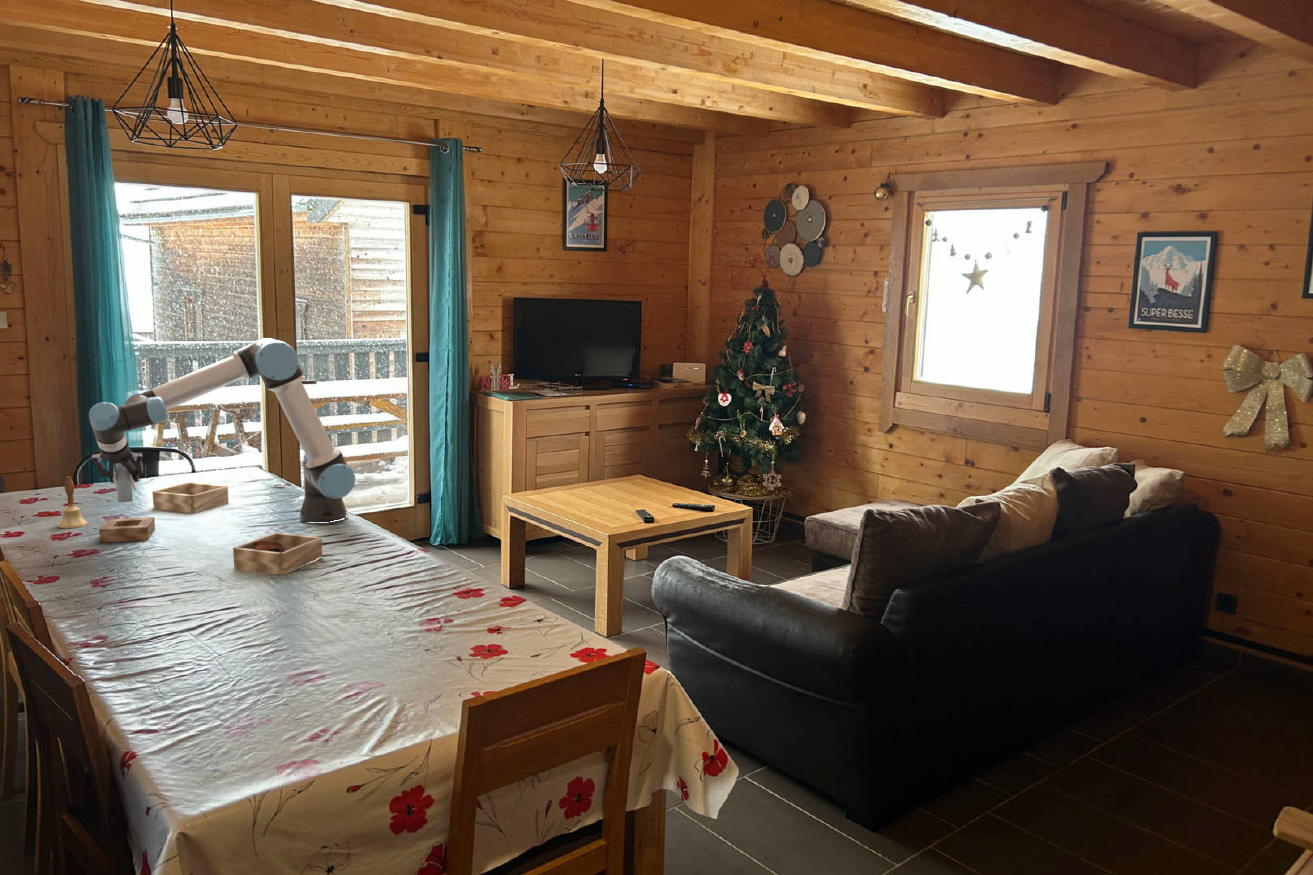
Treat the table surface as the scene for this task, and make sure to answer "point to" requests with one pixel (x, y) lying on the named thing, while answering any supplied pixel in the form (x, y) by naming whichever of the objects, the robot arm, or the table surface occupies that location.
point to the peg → (123, 484)
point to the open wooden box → (278, 554)
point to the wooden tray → (190, 497)
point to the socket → (127, 529)
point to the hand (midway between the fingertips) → (127, 486)
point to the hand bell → (71, 509)
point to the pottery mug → (268, 546)
